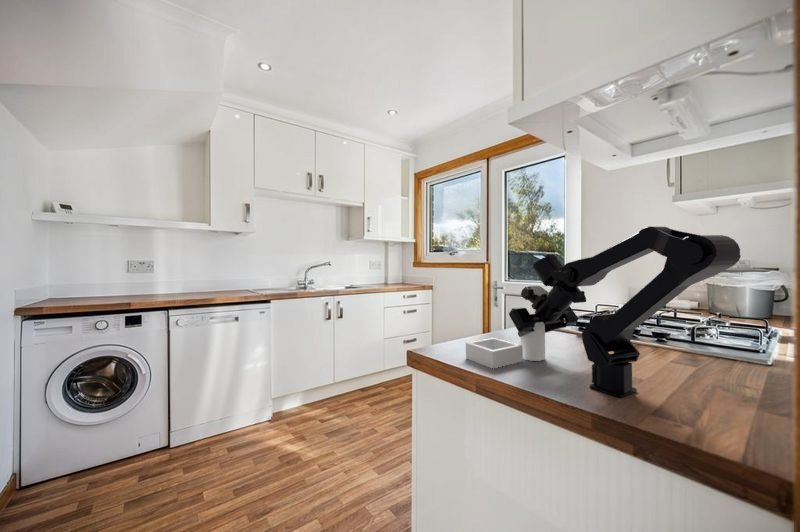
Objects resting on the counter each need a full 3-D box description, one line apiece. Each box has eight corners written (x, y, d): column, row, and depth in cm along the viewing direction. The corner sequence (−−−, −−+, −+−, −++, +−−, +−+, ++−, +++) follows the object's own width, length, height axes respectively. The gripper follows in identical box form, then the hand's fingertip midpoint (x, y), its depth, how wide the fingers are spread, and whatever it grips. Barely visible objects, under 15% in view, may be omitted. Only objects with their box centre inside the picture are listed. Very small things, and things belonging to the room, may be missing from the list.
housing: (522, 361, 92) (522, 345, 92) (493, 368, 86) (492, 351, 86) (494, 352, 101) (493, 337, 101) (466, 358, 96) (465, 342, 96)
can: (521, 361, 92) (520, 318, 92) (520, 354, 98) (519, 314, 98) (546, 362, 90) (546, 318, 90) (543, 355, 96) (543, 314, 96)
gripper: (568, 275, 93) (540, 309, 104) (512, 278, 87) (489, 314, 98) (593, 306, 86) (560, 339, 96) (534, 312, 80) (506, 347, 90)
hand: (529, 334), depth 95 cm, fingers open, 7 cm apart
